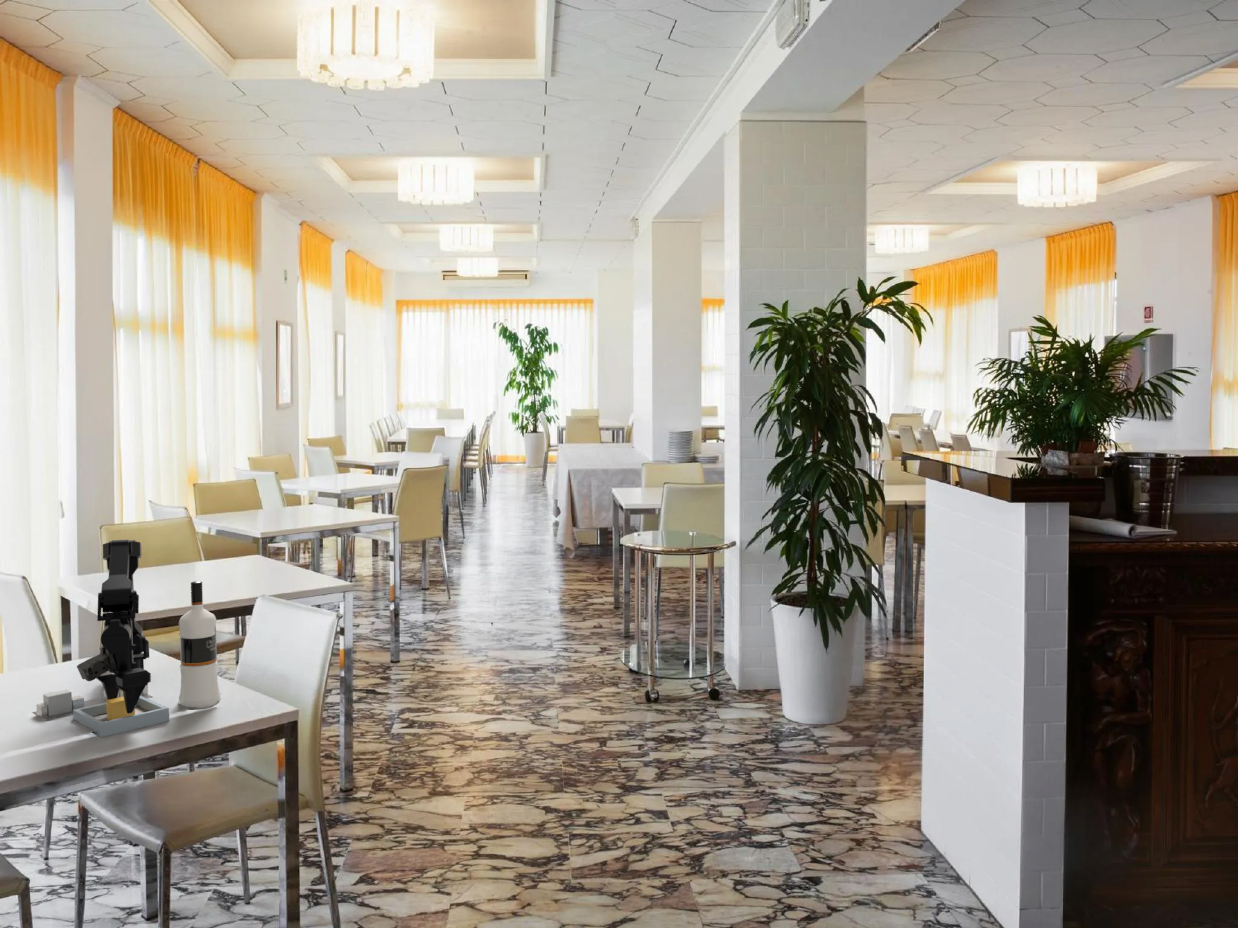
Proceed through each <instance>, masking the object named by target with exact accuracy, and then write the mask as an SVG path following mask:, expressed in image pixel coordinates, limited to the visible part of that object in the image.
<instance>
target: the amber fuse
mask: <svg viewBox="0 0 1238 928" xmlns="http://www.w3.org/2000/svg"><path fill="white" fill-rule="evenodd" d="M106 707H107V713H106V720H107V721H109V720H114V719H118V718H122V717H127V716H131V715H135V714H136V707H135V708H134V710H133V712H132V713H129V714H128V713H127V711H126V707H125V701H124V697H119V698H115V699H110V700H106Z"/></svg>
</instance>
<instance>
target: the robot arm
mask: <svg viewBox="0 0 1238 928" xmlns="http://www.w3.org/2000/svg"><path fill="white" fill-rule="evenodd" d="M140 559H142V543H141V542H139V541H136V539H131V540H130V539H114V540H110V541H108V542H105V543H103V544H102V560H104V561H106V568H107V571H108V578H107V579H106V580H105V581H104V582H102V584H101V591H100V592H97V622H103V630H102V632H101V636H100V643H101V646H100V647H101V648H100V649H99V654H97V655H95V656H92V657H90V658H88V659H86V660H85V661H83V662H80V663H79V664H77V665H76V668H77V670H78V672H79V675H80V678H82V680H85V681H87V682H92V681H94V680H97V681H99V682H100V683H101V685H102V687H103V690H105V693H106V696H107V699H108V700H110V699H115V698H117V696H118V692H119V689H120V690H121V691H122V692H123V696H124V701H125V707H126V711H127V713H128V714H129V713H132V712H133V710H134V708H135V709H136V704H137V702H138V699H139V697H140V695H141V693H142V692H143V690H144V688H145V686H146V685H148V686H149V684H150V683H151V682H152V678H151V677H152V675H151V673H150V672H149V671H148V670H147V669H145V668H144V667H145V665H144V664H145V663H144V660H147V659H149V658H150V646H149V645H150V643H149V640H148V639H147V637H146V635H144V633H143V627H142V626H141V625H140V624H139V622H137V620H136V617H137V615H138V614H139V612H140V610H139V609H140V608H139V607H140V605H139V604H140V596H139V594H138V593H137V590H135V589H134V574H135V572H137V570H138V568H139V563H140V562H139V560H140Z"/></svg>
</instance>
